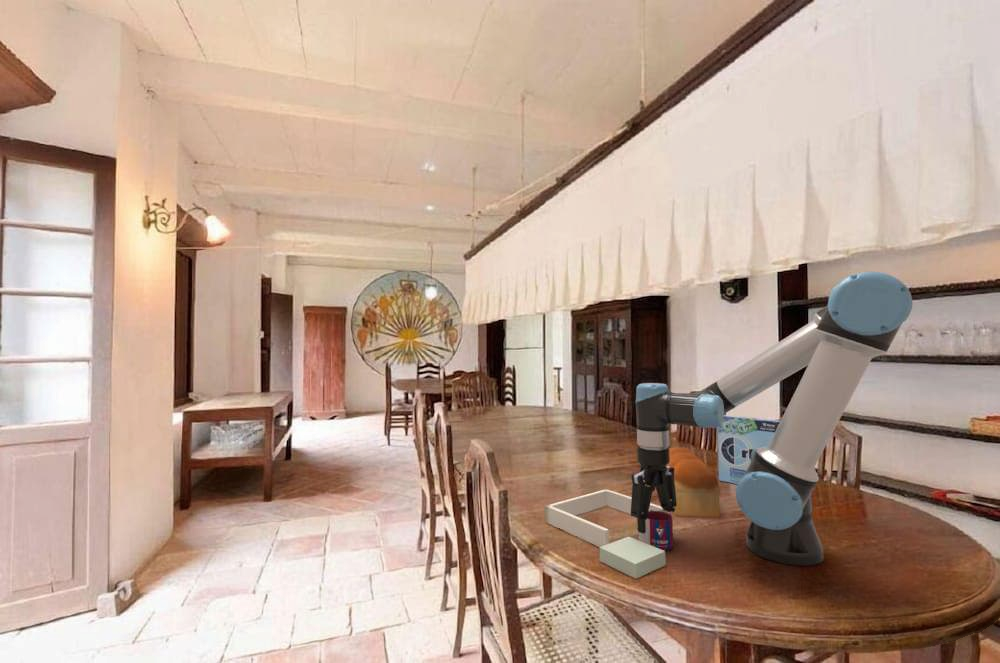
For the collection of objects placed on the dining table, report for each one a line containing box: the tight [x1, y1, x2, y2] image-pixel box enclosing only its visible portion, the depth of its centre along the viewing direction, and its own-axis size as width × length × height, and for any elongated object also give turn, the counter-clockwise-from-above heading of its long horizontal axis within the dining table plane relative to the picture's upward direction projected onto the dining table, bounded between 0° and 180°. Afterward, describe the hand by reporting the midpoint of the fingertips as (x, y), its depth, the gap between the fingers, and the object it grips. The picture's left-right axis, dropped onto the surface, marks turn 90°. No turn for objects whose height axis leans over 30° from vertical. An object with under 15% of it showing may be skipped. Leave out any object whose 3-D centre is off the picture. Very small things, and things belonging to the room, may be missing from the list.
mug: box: [647, 510, 674, 551], centre depth 111 cm, size 7×10×7 cm
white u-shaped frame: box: [544, 489, 663, 548], centre depth 124 cm, size 22×24×4 cm
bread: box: [666, 446, 721, 518], centre depth 140 cm, size 25×12×15 cm, turn 170°
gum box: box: [717, 414, 781, 485], centre depth 156 cm, size 20×5×23 cm, turn 39°
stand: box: [598, 536, 667, 579], centre depth 101 cm, size 10×10×3 cm
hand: (655, 541), depth 111 cm, fingers closed on mug, 7 cm apart
